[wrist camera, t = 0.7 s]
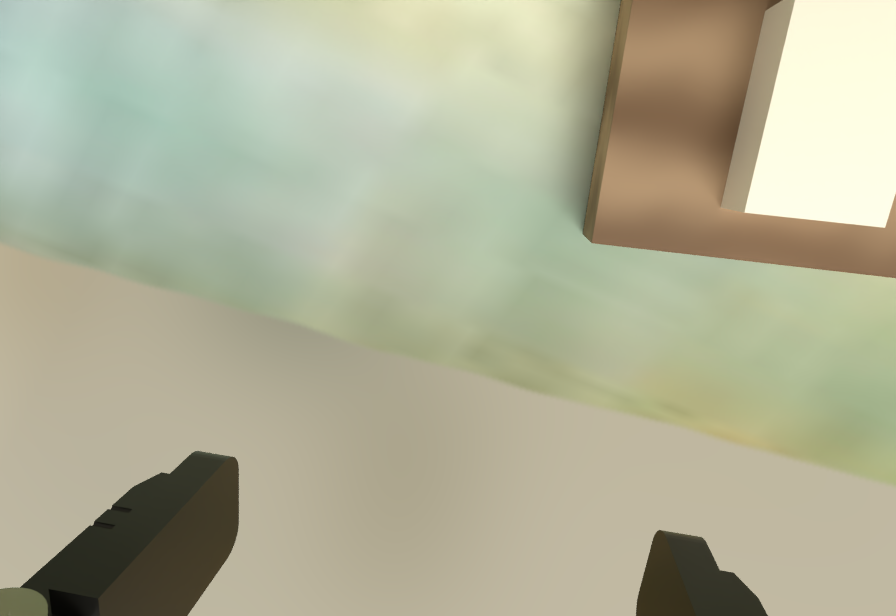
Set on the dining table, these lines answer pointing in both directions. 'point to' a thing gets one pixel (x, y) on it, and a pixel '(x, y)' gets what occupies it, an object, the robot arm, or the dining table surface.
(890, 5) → the cream rectangular block
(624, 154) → the board
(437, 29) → the dining table surface
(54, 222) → the dining table surface
